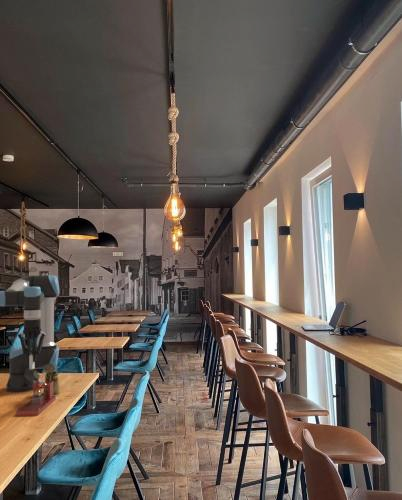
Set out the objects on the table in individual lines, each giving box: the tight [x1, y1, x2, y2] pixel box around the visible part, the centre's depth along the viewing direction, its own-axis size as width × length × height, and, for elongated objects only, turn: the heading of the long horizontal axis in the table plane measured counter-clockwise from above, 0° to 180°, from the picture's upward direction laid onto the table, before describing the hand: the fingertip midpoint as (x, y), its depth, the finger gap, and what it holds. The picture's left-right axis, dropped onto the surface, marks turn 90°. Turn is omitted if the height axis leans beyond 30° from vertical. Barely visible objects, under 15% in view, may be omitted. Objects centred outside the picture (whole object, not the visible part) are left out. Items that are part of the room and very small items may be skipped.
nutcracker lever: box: [24, 369, 46, 390], centre depth 210 cm, size 23×4×2 cm, turn 1°
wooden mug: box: [42, 363, 61, 396], centre depth 232 cm, size 9×14×18 cm, turn 8°
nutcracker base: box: [15, 381, 57, 417], centre depth 210 cm, size 25×10×10 cm, turn 1°
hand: (31, 368), depth 203 cm, fingers closed
